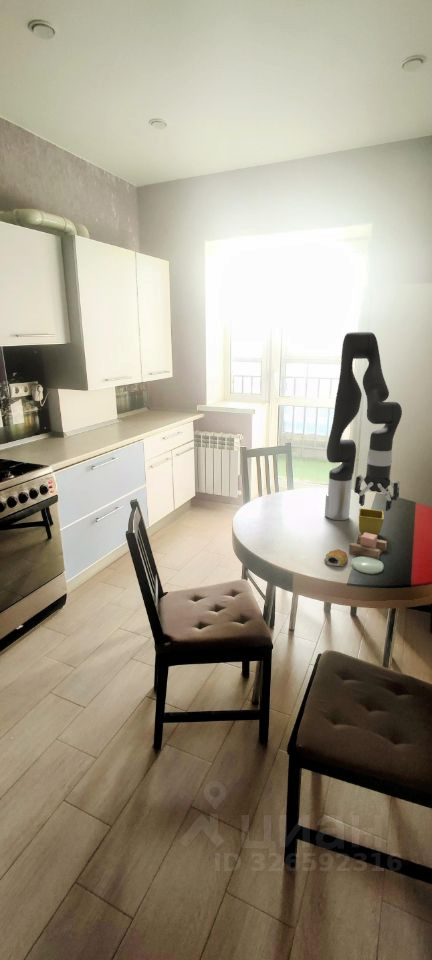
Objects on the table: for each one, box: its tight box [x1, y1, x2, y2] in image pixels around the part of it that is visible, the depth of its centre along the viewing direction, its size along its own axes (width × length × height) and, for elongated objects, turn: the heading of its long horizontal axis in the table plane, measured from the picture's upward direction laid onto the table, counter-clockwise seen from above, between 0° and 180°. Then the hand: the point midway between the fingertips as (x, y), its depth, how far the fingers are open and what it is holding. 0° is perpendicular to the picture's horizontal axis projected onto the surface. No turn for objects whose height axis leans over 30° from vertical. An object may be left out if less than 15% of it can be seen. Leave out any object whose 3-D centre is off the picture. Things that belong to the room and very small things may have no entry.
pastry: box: [323, 549, 348, 567], centre depth 150 cm, size 9×7×4 cm
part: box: [360, 532, 378, 549], centre depth 156 cm, size 4×4×6 cm
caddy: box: [348, 534, 388, 560], centre depth 156 cm, size 10×10×3 cm
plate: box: [351, 556, 384, 575], centre depth 146 cm, size 10×10×1 cm
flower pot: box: [358, 508, 385, 537], centre depth 168 cm, size 9×9×9 cm
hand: (374, 507), depth 152 cm, fingers open, 8 cm apart
